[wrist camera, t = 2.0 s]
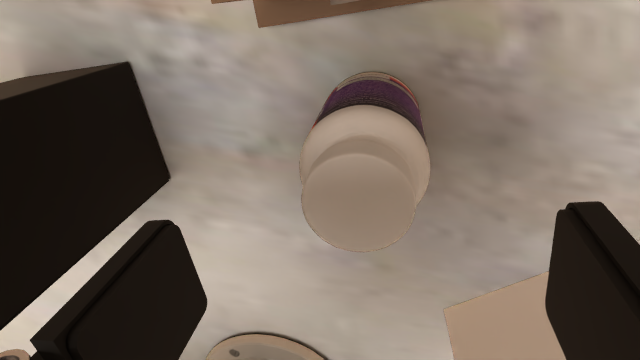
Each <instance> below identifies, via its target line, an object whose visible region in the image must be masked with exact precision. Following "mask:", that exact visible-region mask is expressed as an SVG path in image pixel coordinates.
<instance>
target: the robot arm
mask: <svg viewBox="0 0 640 360" xmlns="http://www.w3.org/2000/svg"><path fill="white" fill-rule="evenodd" d="M206 308H207V298H206V295H205V292H204V289H203V287H202V284H201V282H200V279H199V277H198V274H197V271H196V269H195V266H194V264H193V261H192V259H191V256H190V253H189V251H188V248H187V246H186V243H185V241H184V238H183V235H182V233H181V230H180V228H179V227H178V226H177V225H174V223H173V222H172V221H170V220H154V221H148V222H146V223H145V224H144V225H143V226H142V227H141V228H140V229H139V230H138V231H137V232H136V233H135V234H134V235H133V236H132V237H131V238H130V239H129V240H128V241H127V242H126V243H125V244H124V245H123V246H122V247H121V248H120V249H119V250H118V251H117V252H116V253H115V254H114V255H113V256H112V257H111V258H110V259H109V260H108V261H107V262H106V263H105V265H104V266H103V267H102V268H101V269H100V270H99V271H98V272H97V273H96V274H95V275H94V276H93V277H92V278H91V279H90V280H89V281H88V282H87V283H86V284H85V285H84V286H83V287H82V288H81V289H80V290H79V291H78V292H77V293H76V294H75V295H74V296H73V297H72V298H71V299H70V300H69V301H68V302H67V303H66V304H65V305H64V306H63V307H62V308H61V309H60V310H59V311H58V312H57V313H56V314H55V315H54V316H53V317H52V318H51V319H50V320H49V321H48V322H47V323H46V324H45V325H44V326H43V327H42V328H41V329H40V330H39V331H38V332H37V333H36V334H35V335H34V336H33V337H32V338H31V339H30V341H31V343H32V344H33V345H34V347H35V348H36V350H37V352H36V353H35V354H34V355H33V356H32V357H30V355H29V354H28V353H27V352H26V351H25V350H20V349H14V350H7V351H4V352H1V353H0V360H178V359H179V357H180V356H181V354H182V352H183V350H184V348H185V347H186V345H187V343H188V341H189V340H190V338H191V336H192V334H193V332H194V331H195V329H196V327H197V325H198V323H199V322H200V320H201V318H202V316H203V315H204V313H205V311H206ZM545 308H546V313H547V316H548V319H549V321H550V323H551V326H552V328H553V330H554V333H555V335H556V337H557V340H558V342H559V344H560V346H561V349H562V351H563V353H564V356H565V358H566V360H640V245H639V244H638V242H637V241H636V240H635V239H634V238H633V237H632V236H631V235H630V233H629V232H628V231H627V230H626V229H625V228H624V227H623V226H622V224H621V223H620V222H619V221H618V220H617V219H616V218H615V217H614V215H613V214H612V213H611V212H610V211H609V210H608V209H607V207H606V206H605V205H604V204H603V203H601V202H598V201H597V202H574V203H569V204H568V205H567V206H566V209H564V210H559V211H558V212H557V216H556V224H555V231H554V238H553V246H552V253H551V260H550V267H549V275H548V282H547V289H546V297H545ZM206 360H324V359H323V358H322V357H320V356H319V355H318V354H316V353H315V352H313V351H312V350H310V349H308V348H306V347H304V346H303V345H301V344H299V343H296V342H293V341H290V340H288V339H285V338H280V337H276V336H271V335H260V334H252V335H241V336H237V337H233V338H229V339H227V340H225V341H223V342H221V343H219V344H218V345H217V346H215V347H214V348H213V349H212V350H211V352H210V353H209V354H208V356H207V358H206Z"/></svg>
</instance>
